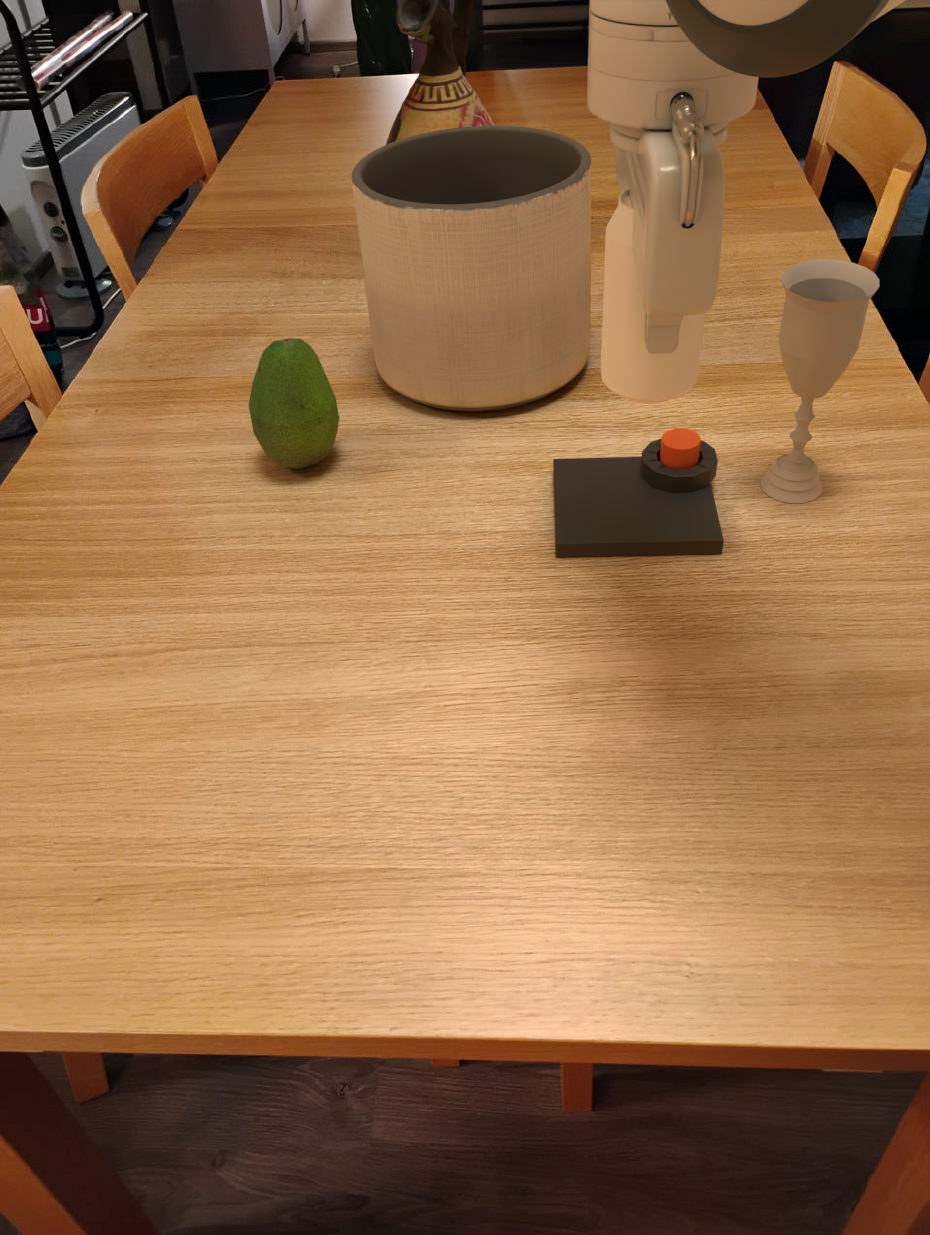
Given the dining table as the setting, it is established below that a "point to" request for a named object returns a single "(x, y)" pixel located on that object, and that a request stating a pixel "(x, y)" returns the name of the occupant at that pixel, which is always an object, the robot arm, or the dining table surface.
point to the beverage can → (639, 326)
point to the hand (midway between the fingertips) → (653, 318)
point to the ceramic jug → (438, 70)
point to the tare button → (680, 448)
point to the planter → (477, 264)
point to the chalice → (816, 356)
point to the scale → (635, 506)
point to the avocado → (293, 405)
